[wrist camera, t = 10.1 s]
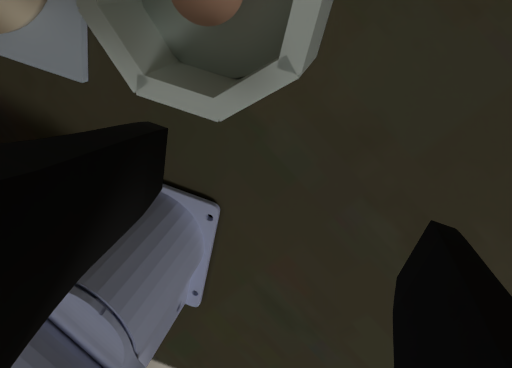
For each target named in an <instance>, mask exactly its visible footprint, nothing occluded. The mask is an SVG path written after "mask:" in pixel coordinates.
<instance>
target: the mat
mask: <svg viewBox="0 0 512 368" xmlns="http://www.w3.org/2000/svg"><path fill="white" fill-rule="evenodd" d="M78 9H79V7H77V6H76V0H47V2H46V4H45V6H44V7H43V9H42V11H41V12H40V13H39V14H38V16H37V17H36V18H35V19H34V20H33V21H31V22H30V23H29V24H28V25H26V26H24V27H23V28H21V29H19V30H16V31H13V32H9V33H3V34H0V55H1V56H4V57H7V58H10V59H13V60H16V61H19V62H22V63H25V64H28V65H30V66H33V67H36V68H39V69H42V70H45V71H48V72H51V73H54V74H57V75H60V76H63V77H66V78H69V79H72V80H75V81H78V82H81V83H84V82H87V81H88V42H87V23H86V22H85V20H84V19H83V17H82V16H81V14H80V13H79V11H78Z"/></svg>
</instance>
